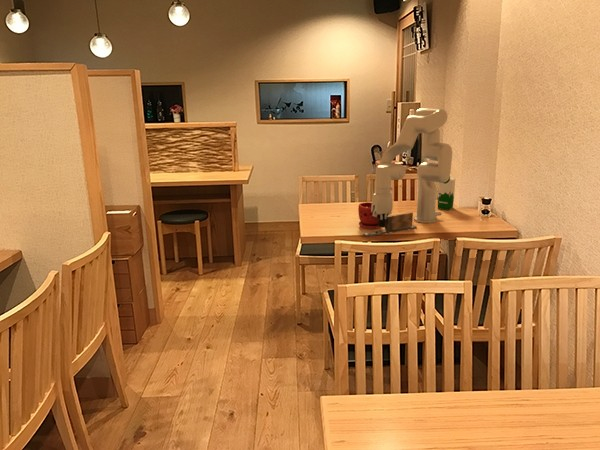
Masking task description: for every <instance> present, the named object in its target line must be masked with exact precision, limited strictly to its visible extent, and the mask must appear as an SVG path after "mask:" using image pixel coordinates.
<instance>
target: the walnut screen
mask: <svg viewBox="0 0 600 450" xmlns="http://www.w3.org/2000/svg"><path fill="white" fill-rule="evenodd" d="M413 221H414V213H413V212H405V213H399V214H393V215H392V214H391V215H388V216H387V218H386V219H385V227H384V230H387V231H389V230H392V229H398V228H404V227H409V226H412V225H413Z"/></svg>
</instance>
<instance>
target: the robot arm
mask: <svg viewBox="0 0 600 450" xmlns="http://www.w3.org/2000/svg"><path fill="white" fill-rule="evenodd" d="M447 120H448V113H447V111H446V110H445V109H443V108H430V107H427V108H426V107H423V108H419V109H417V110H415V113H414V115H410V116H409V115H408V116H407V118H406V119H405V120H404V123H403V125H402V127H401V130H400V133H399V135H398V138H397V139H396V142H395V143H394V144H392V145H391V146H390V147H389V148H388V149H387V150H386V151H385V152H384V153H383V155H381V159H380V161H379V163H378V165H377V166H376V167H375V178H374V179H375V182H374V183H375V184H374V185H375V186H374V193H373V194H372V199H371V203H372V206H371V212H372V213H373V216H374V217H377V218H378V219H379V222H378V225H379V228H385V219H386V218H387V216H391V215H392V212H393V206H394V205H393V203H394V202H393V195H392V194H393V193H392V192H391V191H392V190H393V188H392V180H402V179H403V178H404V177H405V175H406V173H407V169H406V167H405V166H404V165H402V164H399V163H394V162H393V160H394V159H395V158H396V157H397V156H399V155H401V154H403V153H407V152H409V151H411V150H413V148H414V146H415V143H416V140H417V139H418V136H419V134H422V146H421V156H422V158H423V159H424V160H429V161H432V162H429V161H427V162H426V161H425V162H422V163H420V164H419V165H418V167H417V170H416V175H417V180H418V182H417V183H418V186H417V203H416V206H417V208H416V216H413V221H414V222H417V223H421V224H432V223H433V224H435V223H437V222H438V216H439V217H440V216H442V215H443V214H442V212H441V211H439V212H437V211H436V202H437V200H436V199H437V185H436V183H438V184H439V183H444V182H446V181H448V179H449V177H450V178H451V171H452V163H453V161H452V160H453V149H452V147H451V145H450V144H449V143H445V142H440V138H441V132H440V129H439V128H441V127H443V126H444V125H445V124H446V122H447ZM433 161H434V162H433ZM435 162H438V163H435Z"/></svg>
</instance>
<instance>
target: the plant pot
mask: <svg viewBox="0 0 600 450" xmlns="http://www.w3.org/2000/svg"><path fill="white" fill-rule="evenodd" d="M371 206H372V202H370V201H369V202H362V203H359V204H358V219H359V222H358V225H359V226H360V228H362V229H367V230H375V228H376V229H378V228H379V229H380V227H379V225H378V222H379V219H378V218H377V217H374V216H373V213H372V212H371Z"/></svg>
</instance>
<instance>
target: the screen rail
mask: <svg viewBox="0 0 600 450" xmlns="http://www.w3.org/2000/svg"><path fill="white" fill-rule="evenodd" d="M417 227H418V226H417V225H414V224H412V226H409V227H404V228H398V229H392V230H389V231H387V230H385V229H382V230H376V231H371V232H364V233H363V236H364V237H365V238H369V237H373V236H381V235H386V234H385V233H387V234H391V233H390V232H393V233H397V231H398V232H403V230H404V231H408V229H410V230H414V228H415V229H417Z"/></svg>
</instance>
